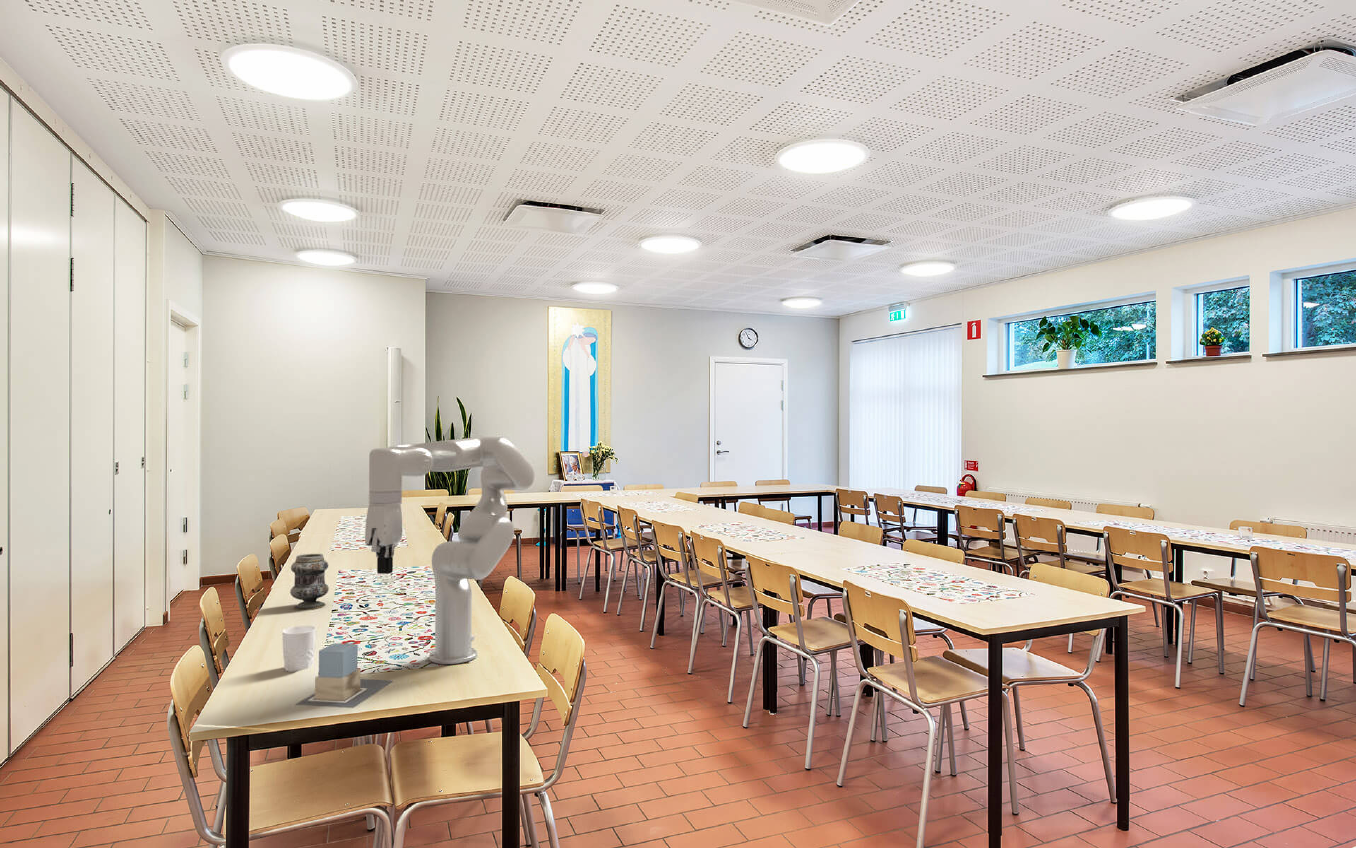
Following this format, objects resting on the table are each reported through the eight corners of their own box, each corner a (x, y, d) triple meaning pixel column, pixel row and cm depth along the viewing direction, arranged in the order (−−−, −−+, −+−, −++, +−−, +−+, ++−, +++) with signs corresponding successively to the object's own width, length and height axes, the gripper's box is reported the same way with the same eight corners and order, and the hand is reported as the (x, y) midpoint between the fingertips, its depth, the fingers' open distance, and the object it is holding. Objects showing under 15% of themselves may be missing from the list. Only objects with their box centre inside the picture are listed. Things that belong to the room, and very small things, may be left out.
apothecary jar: (323, 601, 272) (323, 551, 272) (332, 607, 262) (333, 555, 263) (286, 606, 264) (286, 554, 264) (294, 612, 255) (295, 559, 255)
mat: (340, 679, 188) (340, 677, 188) (393, 682, 186) (394, 680, 186) (295, 706, 170) (295, 704, 170) (353, 709, 168) (353, 707, 168)
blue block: (333, 668, 180) (334, 643, 180) (357, 669, 179) (357, 644, 179) (318, 676, 174) (318, 650, 174) (343, 678, 173) (343, 651, 173)
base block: (332, 688, 180) (332, 668, 180) (360, 690, 179) (360, 669, 179) (315, 699, 173) (315, 677, 173) (343, 701, 172) (343, 679, 172)
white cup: (307, 661, 202) (307, 624, 202) (321, 667, 197) (321, 629, 197) (276, 668, 196) (276, 630, 196) (290, 675, 191) (290, 635, 191)
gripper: (386, 495, 193) (386, 567, 193) (354, 501, 179) (353, 578, 178) (414, 496, 192) (413, 568, 192) (384, 501, 178) (383, 579, 178)
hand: (384, 573), depth 185 cm, fingers closed
